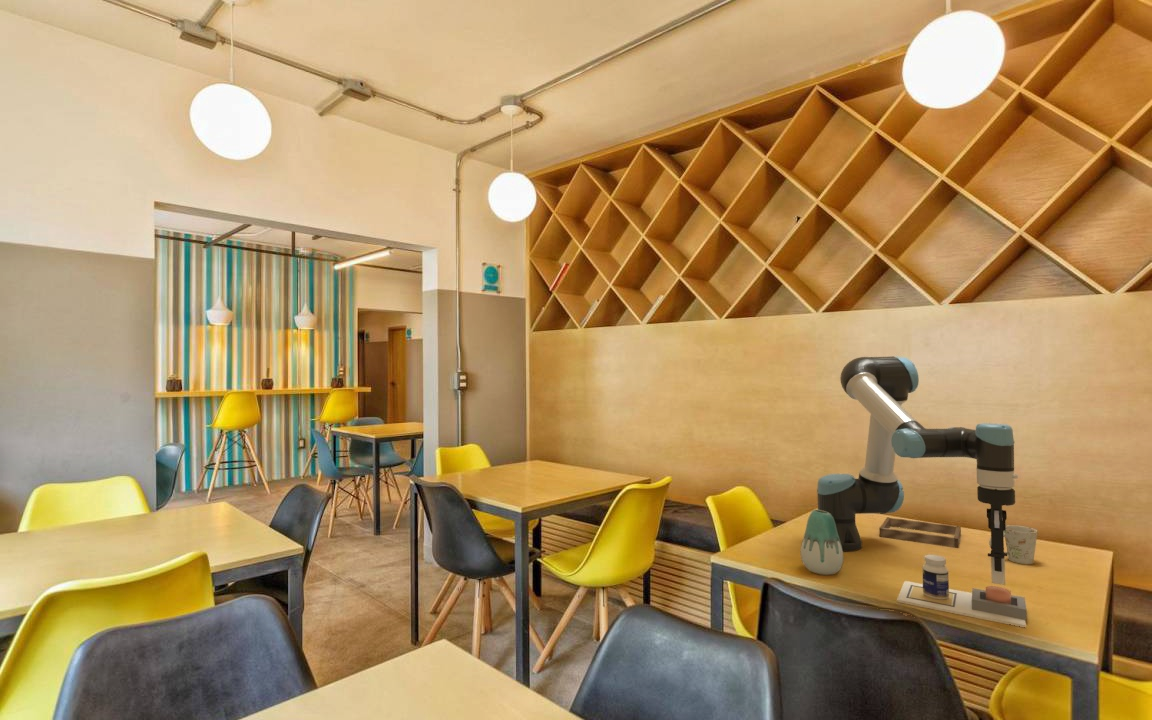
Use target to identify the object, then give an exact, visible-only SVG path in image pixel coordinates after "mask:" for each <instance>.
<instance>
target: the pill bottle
mask: <svg viewBox="0 0 1152 720" xmlns="http://www.w3.org/2000/svg"><path fill="white" fill-rule="evenodd" d="M924 562H925V563H924V564H923V565H922V584H923V593H924V595H926V596H927V597H930V598H933V599H939V600H945V599H947V598H948V597H949V589H950V588H949V587H950V586H949V585H950V583H949V581H950V580H949V569H948V568H947V567H946V564H947V559H946V558H945V557H944V556H942V555H941V556H940V555H938V554H937V555H936V554H926V555H924Z"/></svg>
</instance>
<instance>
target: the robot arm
mask: <svg viewBox="0 0 1152 720" xmlns="http://www.w3.org/2000/svg"><path fill="white" fill-rule="evenodd" d="M839 378H840V380H839V381H840V385H841V388H842V389H843V391H844V392H845V393H846V395H848V396H849V398H851V399H852V400H856V401H858V403H860V404H861V405H862V407H864V409H866V411H868V412H869V414H870V418H869V424H868V425H869V426H868V435H867V436H868V437H867V443H866V445H867V446H866V451H865V452H866V454H865V463H864V467H863V468H862V469H860V470H859V472H858V478H855V477H854V475H852V474H850V473H849V474H848V473H833V474H827V475H826V474H825V475H824V476H821V477H820V478H819V479H818V481H817V489H816V493H817V495H816V496H817V510H823V511H826V512H829V513H830V514H831V515H832V516H833V518H834V521H835V524H836V528H837V532H838V536H839V539H840V542H841V545H842V550H843V552H854V551H859V550H861V549H862V546H863V543H862V538H861V535H860V532H859V530H858V527H857V525H856V524H857V523H856V514H857V515H859V514H868V515H869V514H870V515H871V514H872V515H873V514H880V515H885V514H891V513H895V512H897V511H899V510H900V508H901V507H902V506H903V502H904V498H905V492H904V491H903V490H904V487H903V485H902V483H901V481H900V480H899V479H898V478H899V477H898V476H897V475H896V473H894V470H895V461H896V456H898V457H900V458H910V459H925V458H967V459H973V460H976V484H978V486H977V487H976V488H977V489H976V490H977V500H978V502H980V503H982V504H988V505H990V508H986V518H987V521H988V522H987V524H988V525H987V527H988V529H989V530H990V538H991V548H990V553H987V557H990V568H991V569H990V570H991V572H990V573H991V578H990V579H991V584H994V585H995V584H996V585H1001V586H1006V572H1005V571H1006V563H1005V562H1006V561H1005V557H1008V555H1007V553H1004V552H1005V547H1004V546H1005V544H1004V542H1005V541H1004V539H1005V537H1003V533H1004V531H1005V530H1006V520H1007V518H1008V517H1007V515H1008V514H1007V510H1004V509H1003V506H1007V507H1008V506H1013V505H1015V504H1016V491H1015V490H1014V487H1015V479H1018V478H1019V477H1018V475H1017V474H1015V440H1014V433H1013V432H1014V430H1013V428H1012V426H1010V425H1008V424H1005V423H990V422H989V423H987V422H986V423H985V422H984V423H978V424H976V426H975V429H974V428H973V429H972V428H966V427H962V426H960V427H959V426H957V427H956V426H954V427H953V426H952V427H948V428H926V427H925V426H923V424H921V423H920V422H919V421H918V420H917V419H915V417H914V416H912V414H911V413H909V412H908V411H907V410H906V409H905V408H904V407H903V406H902V405H903V404H904V403H905V402H907V401H908V398H909V394H912V393H913V392H915V391H916V389H918V386H919V382H920V381H919V378H920V377H919V372H918V369H917V368H916V366H915V364H914V362H912V360H910V359H909V358H907V357H903V356H870V357H869V356H861V357H856V358H854V359H852V360H849V362H847V363H846V364H845V366H844V367H843V369H842V371H841V373H840V377H839Z"/></svg>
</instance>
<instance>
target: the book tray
mask: <svg viewBox="0 0 1152 720" xmlns="http://www.w3.org/2000/svg"><path fill="white" fill-rule="evenodd" d="M892 527H893V528H892ZM899 527H900V529H901V530H900V529H895V528H899ZM906 528H907V530H902V529H906ZM908 529H909V531H908ZM914 529H915V531H910V530H914ZM917 531H923V532H930V533H922V532H917ZM878 532H879V538H880V537H881V538H886V539H894V540H895V539H896V540H900V541H907V542H912V543H913V542H915V543H920V544H921V543H922V544H928V545H936V546H942V547H949V548H957V549H959V548H960V542H961V537H962V533H961V532H962V528H961V526H959V525H951V524H944V523H943V524H942V523H935V522H927V521H919V520H911V519H905V518H904V519H903V518H897V517H886V518H885V519H884V521H883V522H882V524H881V525H880V526H879V531H878ZM931 533H937V534H931ZM939 534H944V535H939ZM946 535H952V536H953V537H952V536H946Z"/></svg>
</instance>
